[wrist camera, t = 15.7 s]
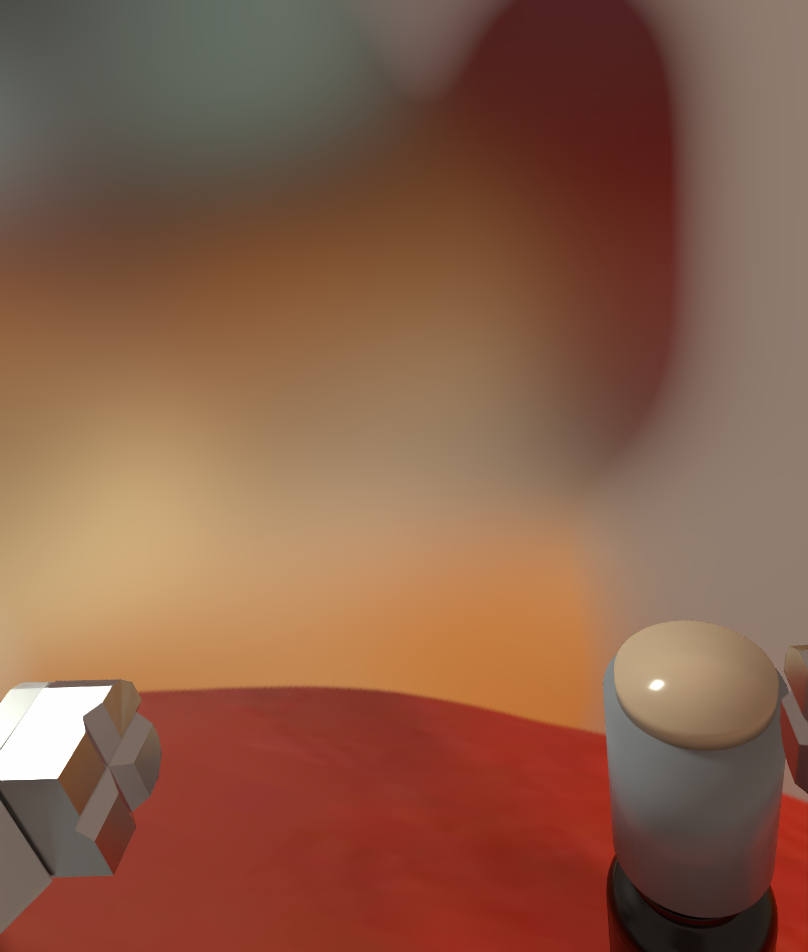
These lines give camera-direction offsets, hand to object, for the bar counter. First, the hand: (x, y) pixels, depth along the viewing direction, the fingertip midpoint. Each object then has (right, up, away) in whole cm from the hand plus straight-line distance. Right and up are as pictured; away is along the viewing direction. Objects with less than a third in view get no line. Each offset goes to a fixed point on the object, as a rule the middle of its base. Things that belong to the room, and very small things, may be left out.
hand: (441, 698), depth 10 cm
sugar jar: (+11, -12, +21) cm, 26 cm away
